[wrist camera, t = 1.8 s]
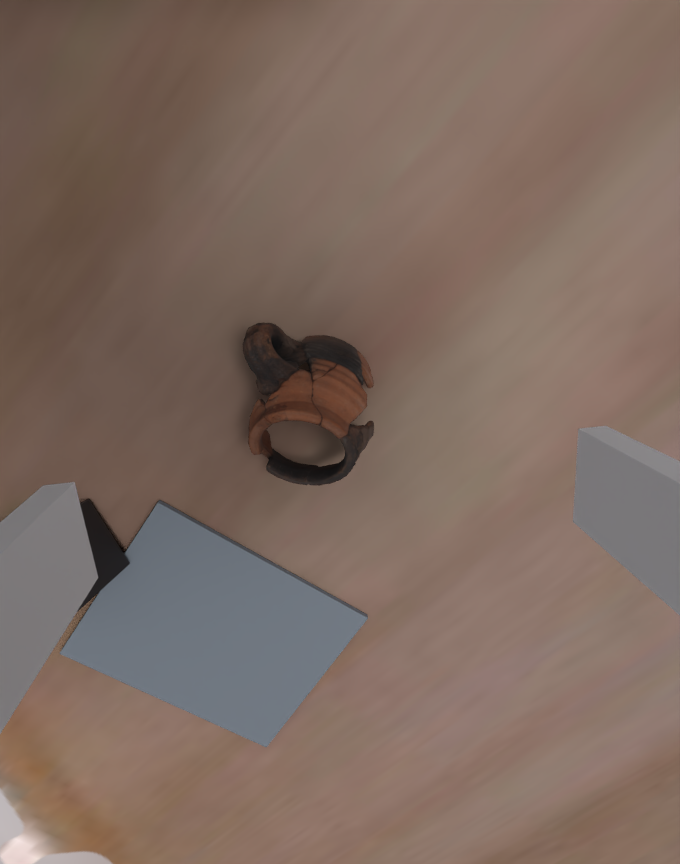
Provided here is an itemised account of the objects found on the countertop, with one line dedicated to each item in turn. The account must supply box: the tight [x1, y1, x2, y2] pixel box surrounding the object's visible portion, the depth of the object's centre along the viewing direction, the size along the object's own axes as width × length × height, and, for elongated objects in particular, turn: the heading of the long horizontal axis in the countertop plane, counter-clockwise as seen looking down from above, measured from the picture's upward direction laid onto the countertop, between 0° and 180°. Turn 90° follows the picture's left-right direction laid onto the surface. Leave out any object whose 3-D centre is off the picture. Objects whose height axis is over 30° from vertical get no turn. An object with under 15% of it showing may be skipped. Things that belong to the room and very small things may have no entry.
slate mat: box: [60, 500, 368, 747], centre depth 44 cm, size 20×16×1 cm
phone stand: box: [78, 499, 130, 611], centre depth 35 cm, size 9×6×12 cm, turn 116°
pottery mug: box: [243, 323, 374, 485], centre depth 37 cm, size 12×10×8 cm
